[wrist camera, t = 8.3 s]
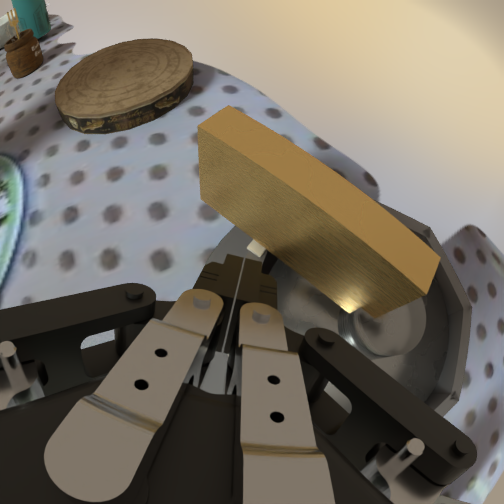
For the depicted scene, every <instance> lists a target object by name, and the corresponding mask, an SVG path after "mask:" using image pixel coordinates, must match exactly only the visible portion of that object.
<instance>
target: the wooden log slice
mask: <svg viewBox="0 0 504 504" xmlns="http://www.w3.org/2000/svg"><path fill="white" fill-rule="evenodd" d="M192 85H193V60H192V54H191V52H189V51H188V49H187V48H186V47H185V46H183V45H181V44H178V43H176V42H174V41H170V40H163V39H137V40H132V41H127V42H122V43H118V44H115V45H112V46H109V47H106V48H104V49H101V50H99V51H97V52H95V53H93V54H91V55H89V56H88V57H86V58H84V59H83V60H81V61H80V62H79V63H77V64H76V65H75V66H73V67H72V68H71V69H70V70H69V71H68V72H67V73H66V74H65V75H64V77H63V78H62V79H61V80H60V82H59V84H58V86H57V88H56V90H55V103H56V105H57V108H58V110H59V112H60V115H61V117H62V119H63V121H64V122H65V123H66V124H67V125H68V127H69V128H70V129H72V130H75V131H78V132H81V133H84V134H109V133H114V132H119V131H124V130H129V129H132V128H135V127H137V126H140V125H142V124H145V123H148V122H151V121H153V120H155V119H157V118H158V117H160V116H162V115H163V114H165V113H167V112H169V111H170V110H172V109H174V108H175V107H176V106H177V105H178V104H179V103H180V102H181V101H182V100H183V99H184V98H185V97H186V96H187V95H188V93H189V91H190V89H191V87H192Z"/></svg>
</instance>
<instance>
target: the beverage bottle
mask: <svg viewBox="0 0 504 504" xmlns="http://www.w3.org/2000/svg"><path fill="white" fill-rule="evenodd" d="M12 4H13V8H15V9H16V13H17V17H18V20H19V22H18V26H19V27H18V28H19V29H20V32H22V31H24V30H26V29H32V30H33V32H34V35H33V36H34V37H36V38H37V39H38V38H40V37H42V36H43V35H45V34H46V33H48V32H49V31H50V30H51V25H50V22H49V19H50V18H48V15H49V14H47V13H48V12H47V10H46V5H45V4H46V3H45V1H44V0H12ZM15 19H16V18H15ZM19 23H20V24H19ZM20 26H21V27H20Z"/></svg>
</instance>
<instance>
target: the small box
mask: <svg viewBox="0 0 504 504" xmlns="http://www.w3.org/2000/svg"><path fill="white" fill-rule="evenodd" d="M434 504H470V503H467V502H463V501H459V500H456V499H452V498H449V497H446V496H442V495H439V496H438V498H437V499H436V501H435V502H434Z"/></svg>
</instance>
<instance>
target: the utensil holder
mask: <svg viewBox="0 0 504 504" xmlns="http://www.w3.org/2000/svg"><path fill="white" fill-rule="evenodd" d="M10 12H11V16H12V20H13V21H11V19H10V16H9V12H7V15H8V19H9V21H8V22H9V23H10V26H11V27H12V26H14V27H15V30H13V31H16V34H15V33H14V34H15V36H13V37H12V36H11V37H12V38H11V37H10V39H9V40H8V41H7V42H6V43H5V45H4V48H5V51H6V52H7V54H6V60H7V63H8V65H9V68H10V70H11V73H12V75H13V76H14V77H15V78H22V77H24V76H26V75H28V74H30V73H32V72H33V71H34V70H36V69H37V68H38V67H39V66H40V65H41V64H42V62H43V55H42V52H41V48H40V45H39V42H38V40H37V38H36V37H34V36H33V35H34V32H33V30H32V29H26V30H24V31H22V32H20V31H19V33H18V31H17V27H16V25H17V24H18V22H19V20H18V17H17V13H16V9H15V8H14V13H15V17H16V19H15V20H14V16H13V12H12V10H11V11H10ZM9 23H7V24H6V25H7V29H8V24H9ZM19 24H20V23H19ZM17 26H18V25H17ZM14 27H12V28H14ZM18 27H19V26H18ZM20 27H21V26H20ZM5 29H6V28H5ZM18 29H19V28H18ZM8 30H9V29H8ZM6 33H7V32H6ZM8 33H10V32H8ZM10 35H11V34H10ZM10 35H9V36H10Z"/></svg>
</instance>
